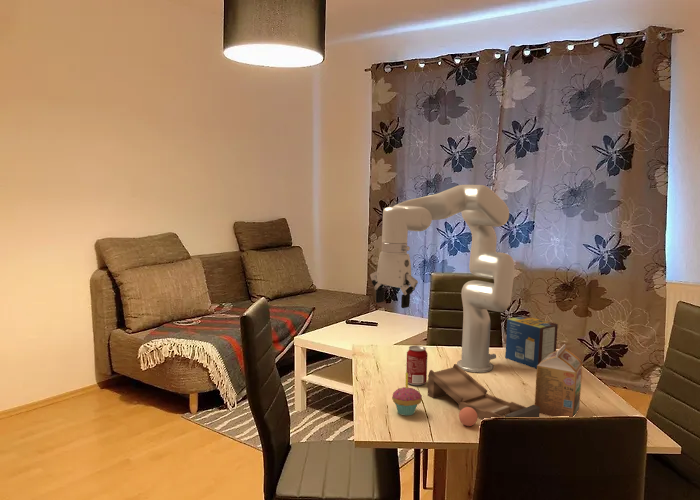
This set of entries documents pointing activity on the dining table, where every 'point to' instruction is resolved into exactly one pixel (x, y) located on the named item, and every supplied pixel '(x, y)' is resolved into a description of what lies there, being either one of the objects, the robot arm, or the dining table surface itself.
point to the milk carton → (559, 383)
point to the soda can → (417, 365)
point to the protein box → (530, 340)
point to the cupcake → (406, 399)
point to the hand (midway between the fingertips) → (392, 304)
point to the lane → (474, 395)
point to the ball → (468, 416)
